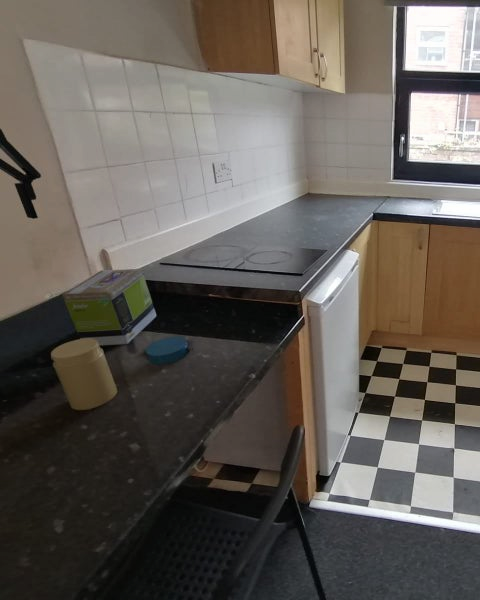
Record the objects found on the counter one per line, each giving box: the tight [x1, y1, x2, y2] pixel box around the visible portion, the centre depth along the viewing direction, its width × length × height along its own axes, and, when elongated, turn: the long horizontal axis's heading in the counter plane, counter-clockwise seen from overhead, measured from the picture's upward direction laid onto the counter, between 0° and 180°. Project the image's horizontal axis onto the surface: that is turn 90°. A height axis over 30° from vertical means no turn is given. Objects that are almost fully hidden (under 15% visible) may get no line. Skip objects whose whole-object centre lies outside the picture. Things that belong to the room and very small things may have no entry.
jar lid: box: [145, 336, 190, 366], centre depth 90 cm, size 8×8×2 cm
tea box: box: [62, 268, 157, 346], centre depth 96 cm, size 15×10×15 cm, turn 5°
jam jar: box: [50, 338, 118, 411], centre depth 74 cm, size 7×7×11 cm
